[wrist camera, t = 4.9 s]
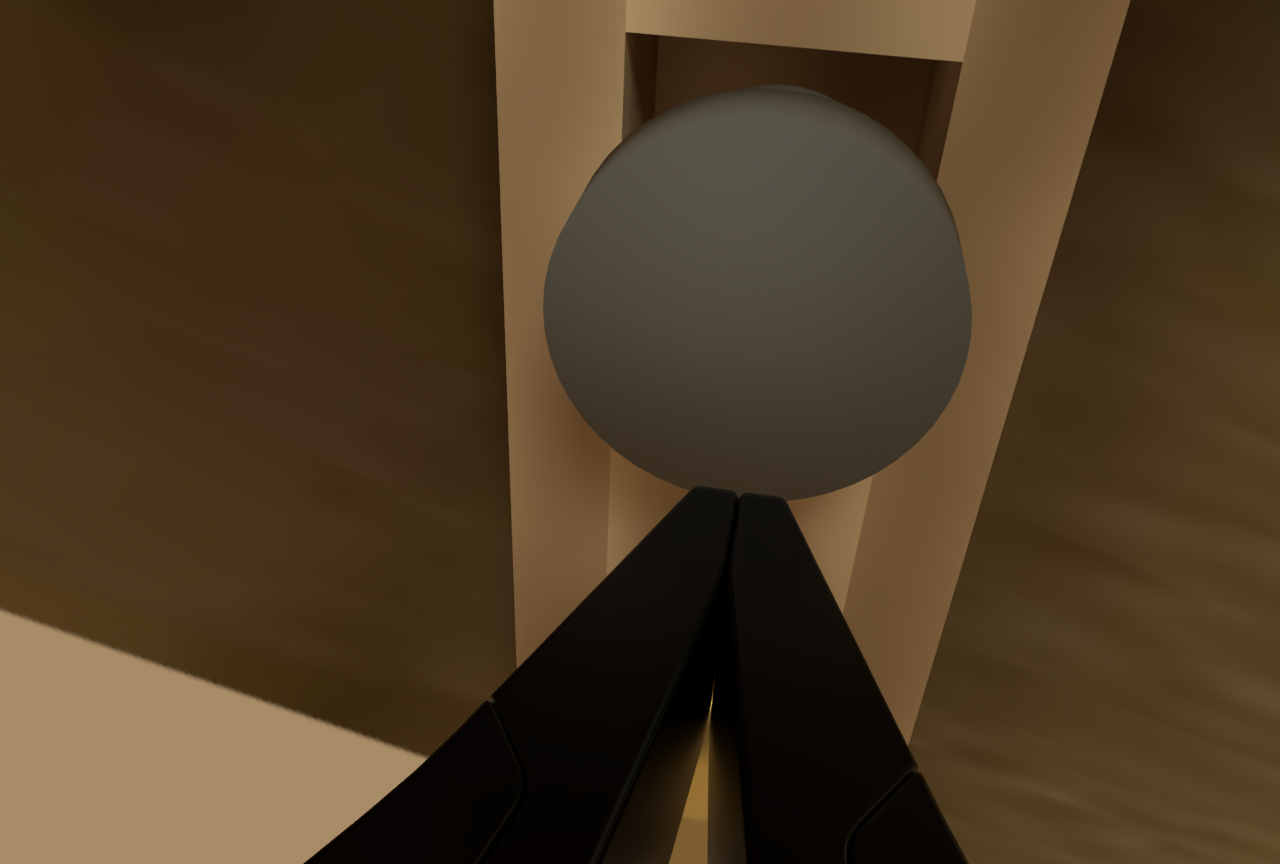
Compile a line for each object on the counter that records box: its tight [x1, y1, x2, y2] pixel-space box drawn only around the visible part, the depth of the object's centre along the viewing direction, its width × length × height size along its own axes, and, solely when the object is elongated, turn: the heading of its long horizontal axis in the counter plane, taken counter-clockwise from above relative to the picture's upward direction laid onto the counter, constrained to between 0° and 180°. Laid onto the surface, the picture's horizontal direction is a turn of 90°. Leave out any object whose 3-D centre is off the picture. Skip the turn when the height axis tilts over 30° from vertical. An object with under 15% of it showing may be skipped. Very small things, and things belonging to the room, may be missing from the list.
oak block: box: [494, 0, 1130, 745], centre depth 19 cm, size 8×20×4 cm, turn 177°
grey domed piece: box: [543, 84, 972, 501], centre depth 13 cm, size 5×5×4 cm
